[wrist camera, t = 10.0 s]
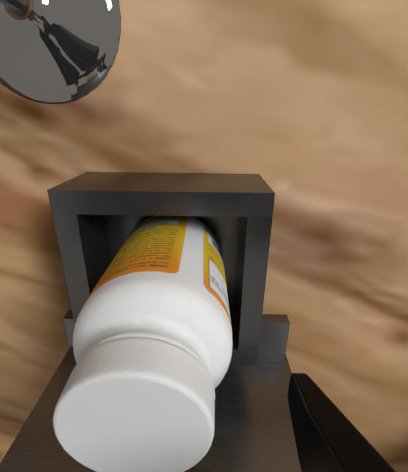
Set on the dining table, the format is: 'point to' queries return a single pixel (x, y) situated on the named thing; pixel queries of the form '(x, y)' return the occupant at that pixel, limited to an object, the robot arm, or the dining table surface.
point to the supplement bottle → (149, 353)
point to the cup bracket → (239, 298)
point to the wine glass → (57, 46)
